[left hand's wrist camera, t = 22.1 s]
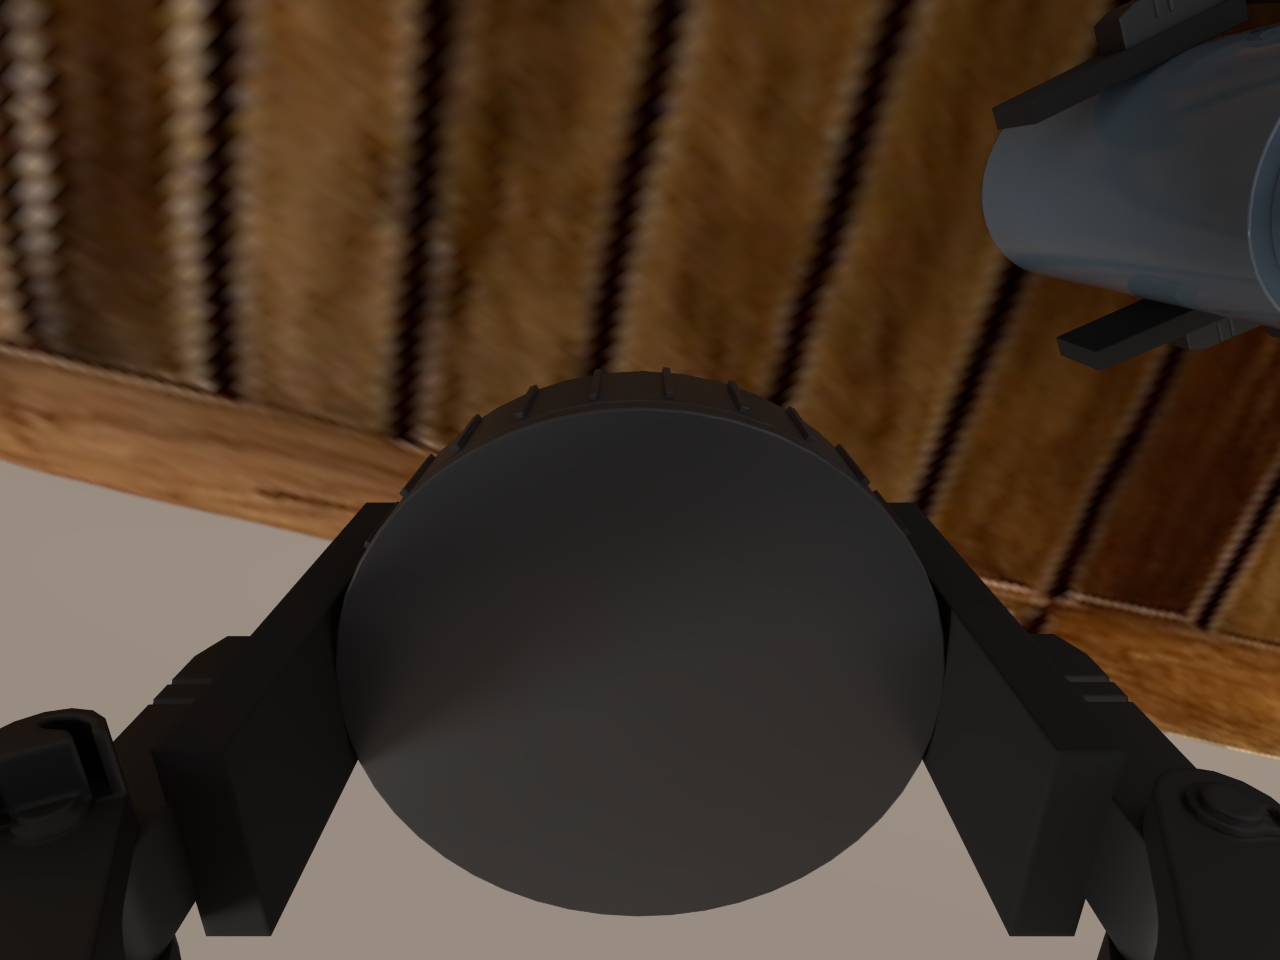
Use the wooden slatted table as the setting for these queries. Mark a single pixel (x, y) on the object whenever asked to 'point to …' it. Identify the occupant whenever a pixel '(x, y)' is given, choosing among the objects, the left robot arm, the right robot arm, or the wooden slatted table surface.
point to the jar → (1156, 184)
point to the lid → (640, 648)
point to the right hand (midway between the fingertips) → (1047, 241)
